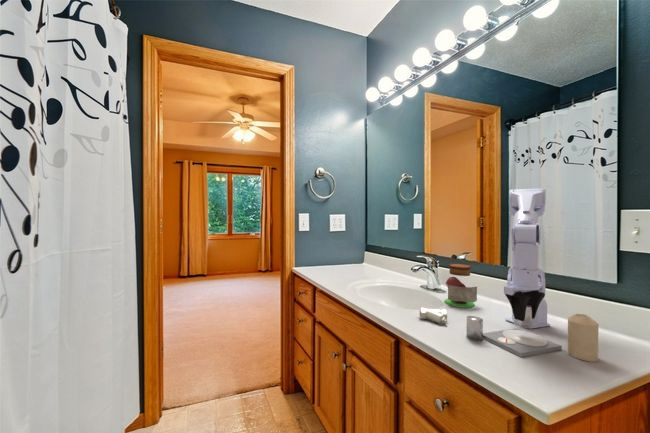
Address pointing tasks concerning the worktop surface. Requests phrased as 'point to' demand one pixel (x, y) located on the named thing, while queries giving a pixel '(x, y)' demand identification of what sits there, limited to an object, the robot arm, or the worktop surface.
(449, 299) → the multicoloured stacked round part
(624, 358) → the worktop surface
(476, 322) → the cylinder
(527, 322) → the cylinder
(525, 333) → the scale
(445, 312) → the pipe fitting
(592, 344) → the candle
